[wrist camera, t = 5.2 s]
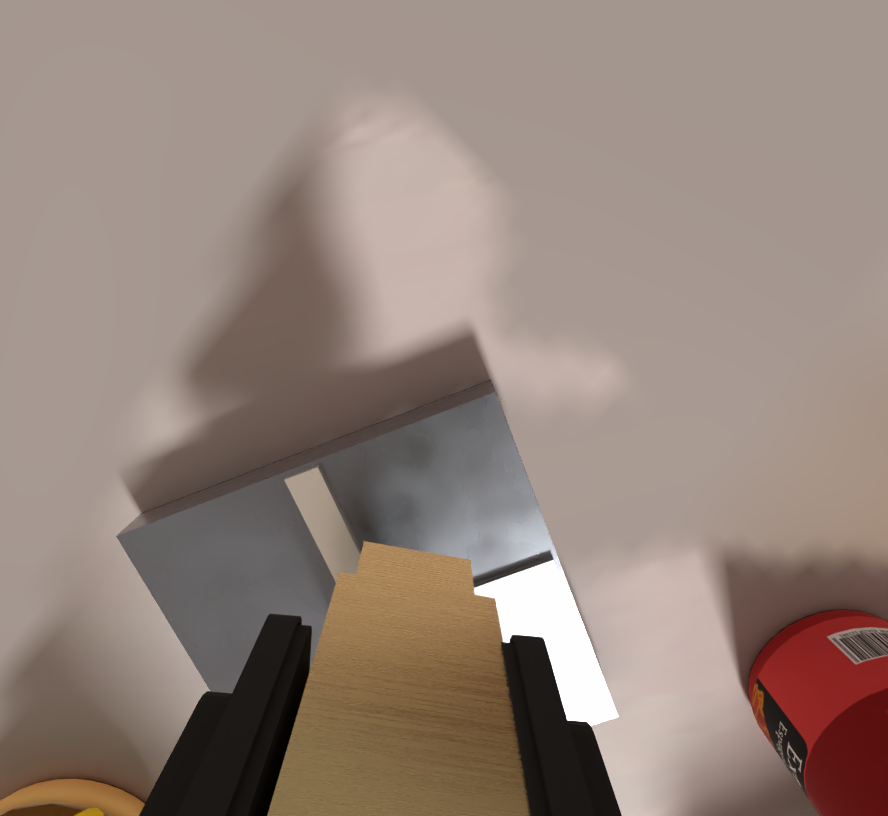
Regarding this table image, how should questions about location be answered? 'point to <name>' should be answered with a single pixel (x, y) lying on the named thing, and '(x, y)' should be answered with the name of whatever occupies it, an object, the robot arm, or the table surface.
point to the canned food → (829, 708)
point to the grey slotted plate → (372, 520)
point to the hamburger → (70, 800)
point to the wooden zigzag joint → (405, 699)
